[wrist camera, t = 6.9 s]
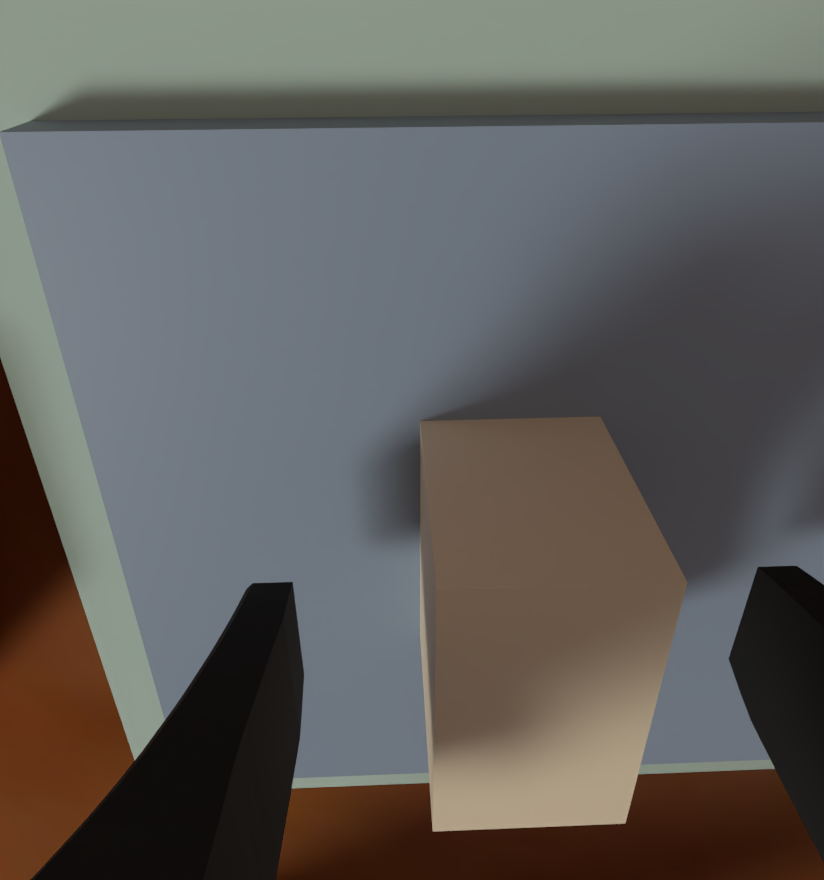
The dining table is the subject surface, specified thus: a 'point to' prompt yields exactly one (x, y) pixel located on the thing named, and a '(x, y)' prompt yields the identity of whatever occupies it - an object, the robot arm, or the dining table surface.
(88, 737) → the dining table surface
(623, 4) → the mat
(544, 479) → the lid
